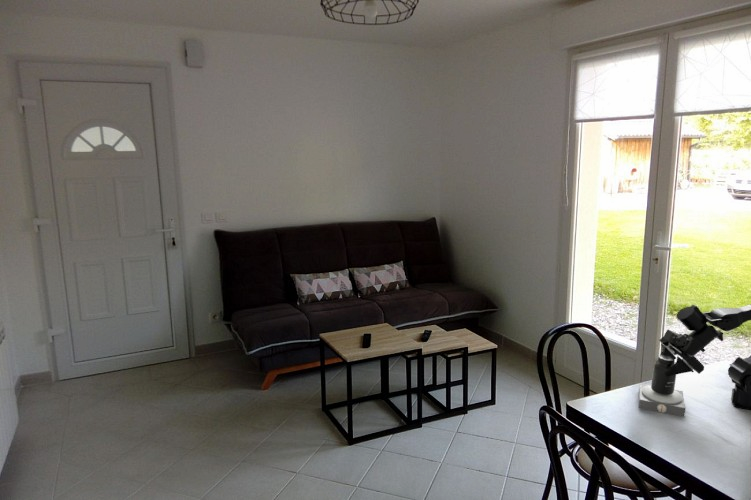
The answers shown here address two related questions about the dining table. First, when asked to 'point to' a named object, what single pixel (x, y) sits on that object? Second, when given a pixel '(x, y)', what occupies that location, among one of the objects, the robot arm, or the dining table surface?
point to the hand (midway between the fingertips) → (660, 370)
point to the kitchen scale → (661, 401)
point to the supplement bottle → (663, 376)
